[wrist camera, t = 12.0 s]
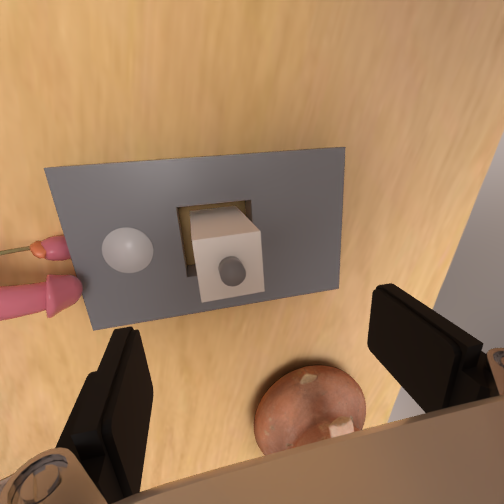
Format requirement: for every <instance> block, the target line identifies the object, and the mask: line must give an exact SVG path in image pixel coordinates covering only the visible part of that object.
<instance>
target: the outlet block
mask: <svg viewBox="0 0 504 504" xmlns="http://www.w3.org/2000/svg"><path fill="white" fill-rule="evenodd" d="M344 166H345V147H335V148H319V149H304V150H290V151H276V152H261V153H247V154H233V155H218V156H204V157H189V158H175V159H161V160H146V161H132V162H117V163H103V164H89V165H74V166H60V167H49V168H44V171H45V174H46V177H47V180H48V184H49V187H50V190H51V194H52V197H53V200H54V203H55V207H56V210H57V213H58V217H59V220H60V223H61V226H62V230H63V233H64V236H65V240H66V243H67V246H68V249H69V253H70V256H71V259H72V263H73V266H74V269H75V272H76V276H77V278H78V279H79V280H80V281H81V283H82V285H83V291H82V295H83V299H84V302H85V305H86V309H87V312H88V315H89V318H90V322H91V325H92V328H93V331H94V330H100V329H105V328H111V327H117V326H123V325H129V324H135V323H140V322H146V321H152V320H158V319H164V318H170V317H175V316H181V315H187V314H193V313H199V312H205V311H210V310H216V309H222V308H228V307H234V306H240V305H246V304H251V303H257V302H263V301H269V300H275V299H281V298H286V297H292V296H298V295H304V294H310V293H316V292H321V291H327V290H333V289H339V273H340V252H341V230H342V209H343V188H344ZM244 200H245V209H246V217H247V218H248V219H249V220H250V221H251V222H252V223H253V224H254V225H255V226H256V227H257V228H258V229H259V230H260V231H261V245H262V260H263V274H264V289H265V291H264V292H259V293H253V294H248V295H242V296H236V297H231V298H225V299H219V300H214V301H208V302H203V303H202V302H201V296H200V289H199V283H198V277H197V271H196V264H193V265H187V263H186V256H185V250H184V243H183V237H182V230H181V224H180V217H179V211H178V207H185V206H195V205H205V204H215V203H225V202H234V201H244Z"/></svg>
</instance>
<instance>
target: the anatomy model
mask: <svg viewBox="0 0 504 504" xmlns="http://www.w3.org/2000/svg"><path fill="white" fill-rule="evenodd" d="M27 250H31V252H32V253H33V255H34V256H36V257H38V258H45V259H47V260H51V261H64V260H68V259H71V256H70V253H69V249H68V246H67V243H66V240H65V236H63V235H60V236H53V237H49V238H47V239H45V240H43V241H36V242H34V243H33V244H31V245H30V246H28V247H21V248H15V249H9V250H4V251H0V255H4V254H10V253H15V252H21V251H27ZM82 291H83V285H82V283H81V281H80V280H79V279H78V278H77V277H75V276H73V275H51V274H49V275H47V278H46V281H45V282H39V283H33V284H25V285H13V286H1V287H0V321H2V320H8V319H13V318H17V317H21V316H25V315H30V314H34V313H38V312H41V311H44V310H46V312H47V317H48V318H51V317H53V316H55V315H56V314H58V313H59V312H61V311H62V310H64V309H66V308H68V307H70V306H72V305H73V304H75V303H76V302H77V301H78V299H79V298H80V296H81V294H82Z"/></svg>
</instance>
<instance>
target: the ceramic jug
mask: <svg viewBox="0 0 504 504" xmlns="http://www.w3.org/2000/svg"><path fill="white" fill-rule="evenodd" d="M365 417H366V403H365V398H364V394H363V392H362V390H361V388H360V386H359V385H358V384H357V382H356V381H355V380H354V379H353V378H352V377H351V376H350V375H348V374H347V373H345V372H343V371H342V370H340V369H337V368H334V367H331V366H324V365H314V366H307V367H303V368H299V369H297V370H294V371H292V372H290V373H288V374H286V375H285V376H283V377H281V378H280V379H279V380H278V381H276V382H275V383H274V384H273V385H272V386H271V387H270V388H269V389H268V391H267V392H266V393H265V394H264V396H263V397H262V399H261V401H260V403H259V405H258V408H257V411H256V414H255V419H254V434H255V438H256V442H257V444H258V446H259V448H260V449H261V451H262V452H263V454H264V455H265V456H266V455H269V454H273V453H277V452H280V451H284V450H288V449H291V448H295V447H299V446H303V445H306V444H310V443H314V442H318V441H322V440H325V439H329V438H333V437H337V436H340V435H344V434H348V433H352V432H356V431H360V430H362V428H363V425H364V422H365Z"/></svg>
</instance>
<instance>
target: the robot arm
mask: <svg viewBox="0 0 504 504" xmlns="http://www.w3.org/2000/svg"><path fill="white" fill-rule="evenodd" d="M367 344H368V348H369V350H370V351H371V352H372V354H373V355H374V356H375V357H376V358H377V359H378V360H379V361H380V362H381V364H382V365H383V366H384V367H385V368H386V369H387V370H388V371H389V372H390V374H391V375H392V376H393V377H394V378H395V379H396V380H397V381H398V383H399V384H400V385H401V386H402V387H403V388H404V389H405V390H406V391H407V392H408V394H409V395H410V396H411V397H412V398H413V399H414V400H415V401H416V403H417V404H418V405H419V406H420V407H421V408H422V409H423V410H424V411H425V414H421V415H418V416H414V417H410V418H406V419H402V420H398V421H394V422H390V423H386V424H382V425H379V426H375V427H371V428H367V429H363V430H360V431H356V432H352V433H348V434H344V435H340V436H337V437H333V438H329V439H325V440H322V441H318V442H314V443H310V444H306V445H303V446H299V447H295V448H291V449H288V450H284V451H280V452H277V453H273V454H269V455H266V456H262V457H258V458H254V459H251V460H247V461H243V462H240V463H236V464H232V465H228V466H225V467H221V468H218V469H214V470H211V471H207V472H204V473H200V474H197V475H193V476H190V477H186V478H183V479H180V480H176V481H173V482H169V483H166V484H163V485H160V486H157V487H154V488H151V489H148V490H145V491H142V492H140V486H141V479H142V472H143V465H144V458H145V451H146V444H147V437H148V430H149V423H150V416H151V409H152V402H153V385H152V381H151V377H150V373H149V369H148V365H147V360H146V356H145V352H144V348H143V344H142V340H141V336H140V332H139V330H134V329H133V327H126V328H120V329H115V330H114V331H113V334H112V336H111V338H110V341H109V343H108V346H107V348H106V351H105V353H104V355H103V358H102V360H101V363H100V365H99V367H98V370H97V371H95V372H91V373H90V374H89V375H88V376H87V378H86V380H85V383H84V385H83V387H82V389H81V391H80V394H79V396H78V398H77V400H76V403H75V405H74V407H73V409H72V412H71V414H70V416H69V418H68V421H67V423H66V425H65V427H64V430H63V432H62V434H61V436H60V439H59V441H58V443H57V445H56V447H55V448H54V449H49V450H47V451H44V452H42V453H40V454H38V455H36V456H35V457H33V458H31V459H30V460H28V461H27V462H26V463H25V464H24V465H22V466H21V467H20V468H19V469H18V470H17V471H16V472H15V473H14V474H13V475H12V476H11V478H10V479H9V480H8V481H7V483H6V485H5V486H4V488H3V490H2V491H1V494H0V504H504V348H493V349H490V350H489V351H488V352H487V354H485V353H484V352H482V351H481V350H482V347H483V343H482V342H480V341H479V340H477V339H476V338H474V337H473V336H471V335H470V334H468V333H467V332H465V331H464V330H462V329H461V328H459V327H458V326H456V325H455V324H453V323H452V322H450V321H449V320H447V319H446V318H444V317H442V316H441V315H440V314H438V313H436V312H435V311H434V310H432V309H431V308H429V307H427V306H426V305H424V304H423V303H421V302H420V301H418V300H417V299H415V298H414V297H412V296H411V295H409V294H408V293H406V292H405V291H403V290H402V289H400V288H399V287H397V286H396V285H394V284H392V283H391V284H384V285H378V286H377V287H376V289H375V290H374V291H373V294H372V304H371V313H370V322H369V332H368V341H367Z"/></svg>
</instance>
